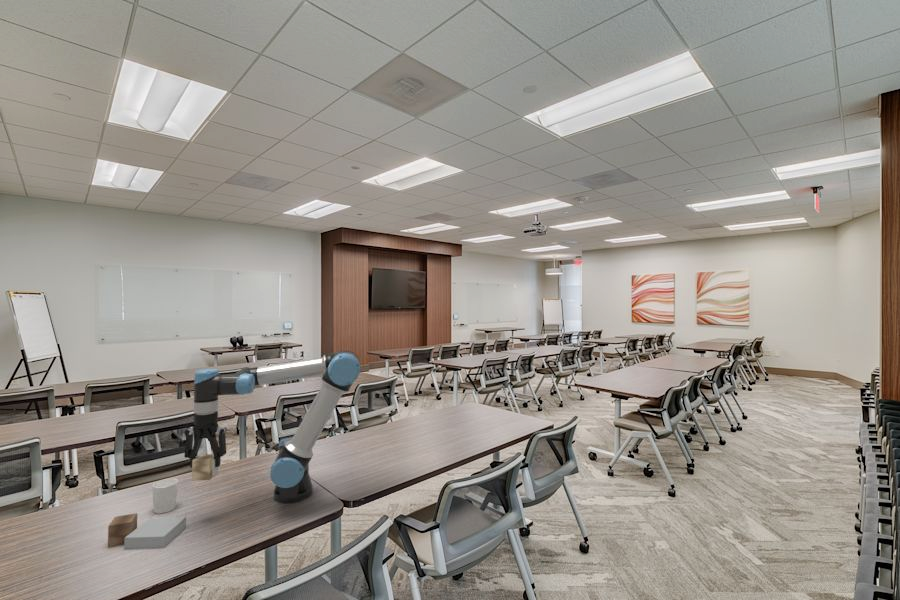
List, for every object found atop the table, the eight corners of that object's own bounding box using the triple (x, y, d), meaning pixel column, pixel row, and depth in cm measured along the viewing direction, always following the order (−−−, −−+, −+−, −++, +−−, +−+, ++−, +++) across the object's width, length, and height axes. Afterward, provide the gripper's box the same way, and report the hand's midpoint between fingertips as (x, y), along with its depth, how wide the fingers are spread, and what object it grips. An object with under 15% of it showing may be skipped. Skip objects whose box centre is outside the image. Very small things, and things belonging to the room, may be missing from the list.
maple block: (218, 472, 146) (218, 454, 146) (209, 480, 140) (209, 460, 140) (201, 473, 145) (201, 454, 145) (192, 480, 139) (192, 460, 139)
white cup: (164, 515, 145) (164, 488, 145) (146, 513, 147) (147, 486, 147) (182, 505, 153) (183, 479, 153) (165, 503, 154) (166, 477, 154)
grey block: (186, 528, 138) (186, 516, 138) (163, 549, 126) (164, 536, 126) (150, 529, 137) (150, 517, 137) (124, 550, 125) (124, 537, 125)
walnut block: (136, 533, 134) (137, 513, 134) (131, 543, 128) (131, 521, 128) (114, 537, 131) (115, 516, 131) (107, 547, 126) (108, 525, 126)
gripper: (237, 409, 147) (237, 470, 147) (184, 410, 146) (184, 472, 146) (228, 414, 140) (227, 479, 140) (172, 415, 138) (171, 481, 138)
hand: (205, 475), depth 143 cm, fingers closed on maple block, 6 cm apart
